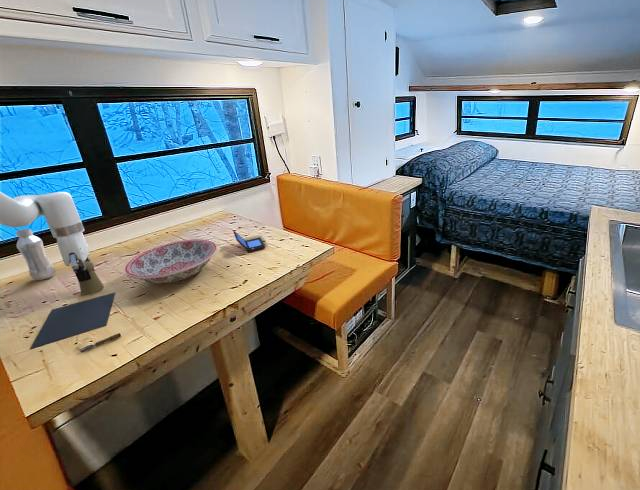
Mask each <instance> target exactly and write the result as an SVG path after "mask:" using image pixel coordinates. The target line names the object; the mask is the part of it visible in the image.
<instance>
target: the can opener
mask: <svg viewBox="0 0 640 490" xmlns="http://www.w3.org/2000/svg"><path fill="white" fill-rule="evenodd" d="M120 337H122V335H121V333H120V332H118V333H116V334H112V335H110V336H108V337H106V338H104V339H101V340H99V341H96V342H95V343H94V344H88V345H86V346H84V347H82V348H80V349H78V350H77V351H78V352H79V351H80V352H81V353H84V352H85V351H86V350H90V349H92V348H94V347H98V346H101V345H103V344H105V343H108V342H112V341H114V340H117V339H118V338H119V339H120Z"/></svg>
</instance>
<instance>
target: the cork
mask: <svg viewBox="0 0 640 490" xmlns="http://www.w3.org/2000/svg"><path fill="white" fill-rule="evenodd" d="M84 263H85V266H86V269H88V271H89V273H90V276H91V279H90V280H86V281H82V282H79V281H78V283H79V289H80V294H81V295H82V296H89V295H93V294H96V293H99V292H100V291H102V290H103V289H104V288H105V286H104V284H103V283H102V281H101V280H100V278H99V276H98V274H97V273H96V271H94V270H95V265H94V263H93V262H92V261H91V262H90V261H84ZM78 265H81V266H82V264H78ZM93 268H94V270H93ZM72 271H73V272H74V269H73V268H72Z"/></svg>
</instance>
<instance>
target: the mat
mask: <svg viewBox="0 0 640 490" xmlns="http://www.w3.org/2000/svg"><path fill="white" fill-rule="evenodd" d="M115 296H116V292H111V293H108V294H103V295H100V296H97V297H93V298H88V299H85V300H82V301H78V302H74V303H71V304H67V305H63V306H60V307H56V308H53V309H51V310H50V311H49V314H48V316H47V317H46V318H45V321H44V322H43V325H42V326H41V328H40V330H39V331H38V333H37V335H36V337H35V338H34V340H33V342H32V343H31V346H30V347H29V350H33V349H35V348H38V347H39V348H40V347H42V346H45V345H49V344H52V343H55V342H58V341H62V340H64V339H68V338H71V337H74V336H78V335H80V334H84V333H86V332H90V331H94V330H97V329H99V328H102V327H106V326H107V324H108V322H109V321H108V320H109V317H110V314H111V310H112V306H113V304H114V299H115Z"/></svg>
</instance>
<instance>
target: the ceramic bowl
mask: <svg viewBox="0 0 640 490" xmlns="http://www.w3.org/2000/svg"><path fill="white" fill-rule="evenodd" d="M217 249H218V245H217V244H216V243H215V242H213V241H211V240H208V239H199V238H198V239H197V238H196V239H195V238H194V239H185V240H184V239H183V240H178V241H173V242H168V243H165V244H162V245H158V246H156V247H153V248H150V249H148V250H146V251H143V252H141V253H139V254H138V255H136V256H134V257H133V258H132V259H130V260H129V261H128V262H127V263H126V264H125V267H124V273H125V274H126V275H127V276H128V277H130V278H133V279H139V280H141V281H144V282H147V283H149V284H150V283H151V284H169V283H175V282H179V281H182V280H185V279H188V278H190V277H192V276H194V275H196V274H197V273H199V272H200V271H201V270H202V269H204V268H205V266H206V265H207V264H209V261H210V260H211V258H212V257H213V256H214V255H215V254H216V252H217Z"/></svg>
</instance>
